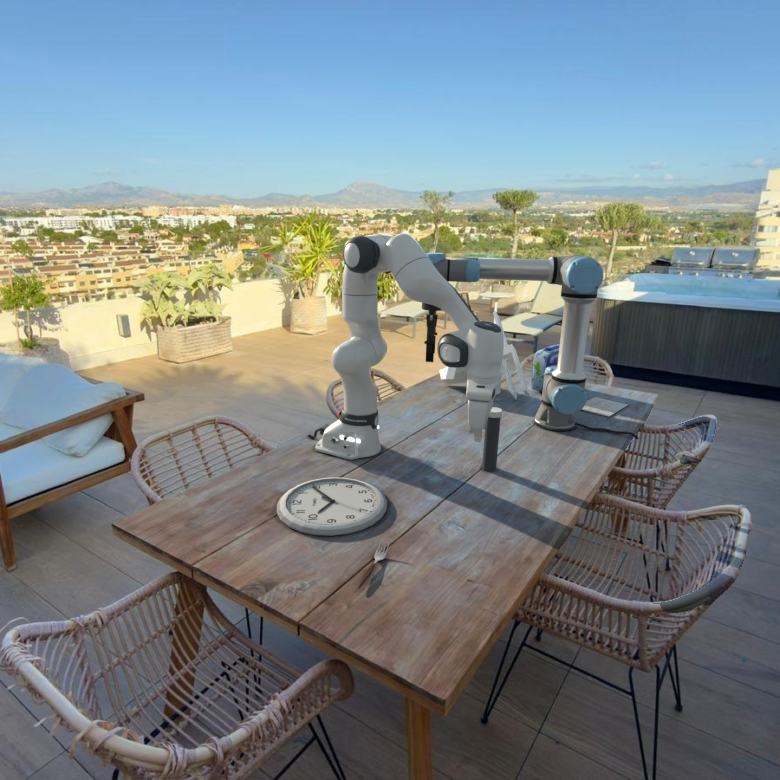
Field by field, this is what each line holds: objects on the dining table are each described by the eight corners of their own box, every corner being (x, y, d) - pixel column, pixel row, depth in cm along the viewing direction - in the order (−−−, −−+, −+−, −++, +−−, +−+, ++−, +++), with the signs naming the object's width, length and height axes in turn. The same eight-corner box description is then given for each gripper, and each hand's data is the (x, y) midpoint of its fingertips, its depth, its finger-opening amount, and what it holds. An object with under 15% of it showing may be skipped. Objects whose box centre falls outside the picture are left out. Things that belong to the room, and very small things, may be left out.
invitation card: (608, 416, 214) (573, 407, 224) (608, 416, 214) (573, 408, 224) (628, 404, 229) (594, 396, 238) (628, 405, 229) (594, 397, 238)
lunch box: (547, 397, 237) (552, 352, 231) (526, 391, 245) (531, 348, 238) (574, 386, 255) (580, 344, 249) (554, 381, 262) (559, 340, 256)
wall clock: (392, 527, 129) (268, 531, 127) (391, 533, 130) (269, 537, 127) (383, 473, 158) (282, 475, 155) (383, 478, 158) (282, 480, 156)
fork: (352, 589, 110) (352, 581, 109) (380, 547, 124) (380, 540, 123) (364, 592, 109) (364, 583, 108) (390, 550, 123) (390, 542, 123)
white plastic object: (461, 429, 252) (437, 405, 227) (444, 352, 274) (420, 323, 250) (535, 404, 240) (518, 377, 215) (510, 326, 262) (492, 293, 237)
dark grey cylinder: (480, 470, 165) (485, 412, 159) (483, 464, 169) (487, 407, 163) (494, 472, 164) (499, 414, 158) (497, 466, 168) (502, 409, 162)
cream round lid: (483, 416, 160) (484, 411, 159) (486, 411, 164) (486, 406, 164) (500, 418, 158) (500, 413, 157) (502, 413, 162) (503, 408, 162)
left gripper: (477, 373, 146) (474, 420, 150) (464, 394, 128) (462, 446, 132) (500, 375, 144) (497, 422, 148) (490, 397, 126) (487, 450, 130)
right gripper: (424, 293, 195) (422, 349, 202) (419, 302, 172) (417, 365, 178) (444, 294, 195) (441, 350, 201) (442, 303, 171) (439, 366, 177)
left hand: (480, 434), depth 140 cm, fingers open, 8 cm apart
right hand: (430, 357), depth 190 cm, fingers open, 13 cm apart
